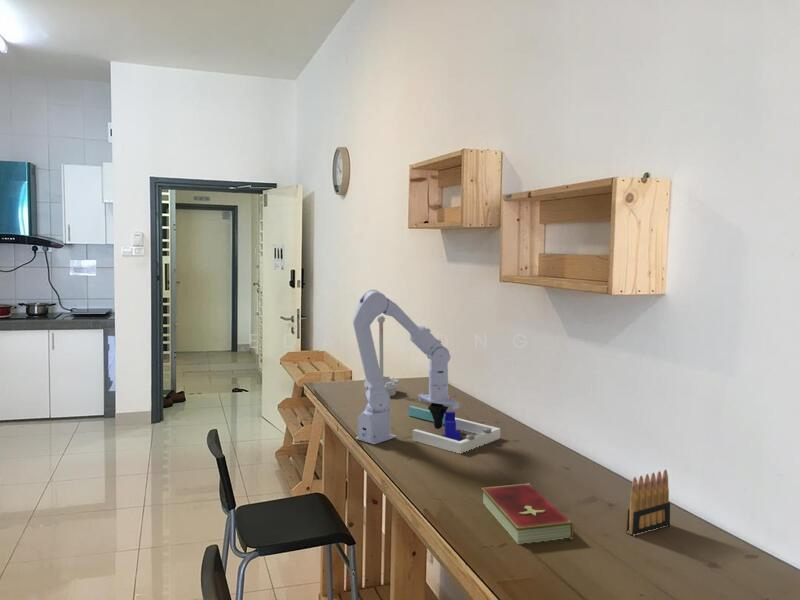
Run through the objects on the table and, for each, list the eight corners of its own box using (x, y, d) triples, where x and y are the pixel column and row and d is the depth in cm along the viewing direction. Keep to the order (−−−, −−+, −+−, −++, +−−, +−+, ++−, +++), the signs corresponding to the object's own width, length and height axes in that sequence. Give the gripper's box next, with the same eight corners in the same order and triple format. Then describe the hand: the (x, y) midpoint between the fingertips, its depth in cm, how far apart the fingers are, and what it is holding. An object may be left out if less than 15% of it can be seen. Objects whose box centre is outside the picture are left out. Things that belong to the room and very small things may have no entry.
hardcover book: (530, 499, 151) (530, 482, 151) (573, 541, 131) (573, 520, 131) (481, 504, 149) (481, 486, 148) (517, 547, 129) (517, 527, 128)
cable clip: (460, 442, 191) (461, 422, 190) (445, 442, 191) (445, 422, 191) (459, 430, 203) (459, 411, 202) (444, 430, 203) (445, 411, 202)
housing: (461, 454, 181) (461, 441, 180) (412, 440, 194) (412, 427, 193) (501, 438, 195) (501, 426, 194) (453, 426, 207) (453, 414, 207)
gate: (408, 415, 219) (408, 406, 218) (410, 414, 220) (410, 405, 219) (447, 425, 207) (447, 416, 207) (450, 424, 208) (450, 415, 208)
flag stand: (363, 389, 256) (362, 313, 253) (396, 388, 257) (396, 313, 254) (365, 398, 243) (364, 318, 240) (400, 397, 244) (399, 317, 241)
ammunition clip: (633, 536, 132) (635, 479, 131) (626, 533, 133) (628, 476, 132) (670, 525, 137) (672, 470, 136) (662, 522, 138) (665, 467, 137)
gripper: (465, 385, 195) (465, 429, 197) (429, 378, 205) (429, 420, 207) (450, 389, 190) (450, 435, 192) (413, 382, 200) (414, 425, 202)
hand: (438, 427), depth 199 cm, fingers closed
